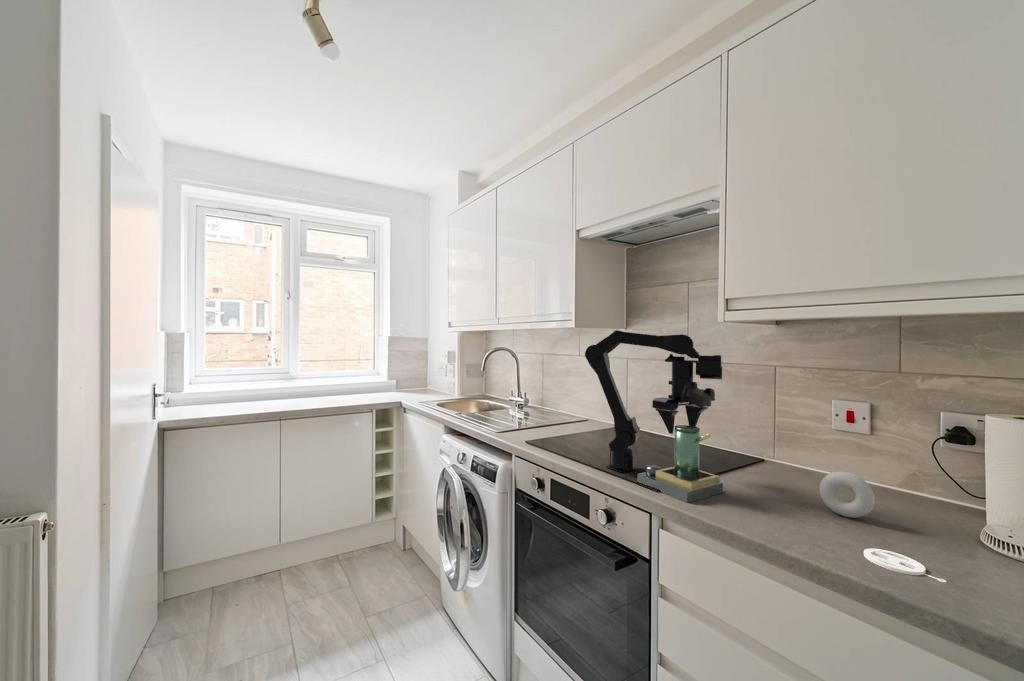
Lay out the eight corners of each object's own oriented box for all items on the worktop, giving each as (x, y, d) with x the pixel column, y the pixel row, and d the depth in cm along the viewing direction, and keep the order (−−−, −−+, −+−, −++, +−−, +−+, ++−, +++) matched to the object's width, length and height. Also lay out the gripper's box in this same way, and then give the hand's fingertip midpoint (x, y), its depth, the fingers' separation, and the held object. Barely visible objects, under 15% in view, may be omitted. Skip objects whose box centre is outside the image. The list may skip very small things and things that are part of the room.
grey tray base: (637, 482, 116) (637, 466, 116) (671, 475, 122) (671, 459, 122) (687, 502, 102) (687, 484, 102) (722, 492, 109) (722, 475, 109)
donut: (876, 522, 92) (877, 476, 92) (872, 526, 89) (873, 479, 89) (821, 507, 99) (822, 465, 99) (817, 511, 97) (817, 468, 97)
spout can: (669, 479, 111) (669, 426, 111) (682, 475, 114) (683, 424, 114) (703, 490, 103) (703, 433, 103) (716, 485, 106) (717, 430, 106)
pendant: (872, 549, 80) (872, 544, 80) (954, 577, 71) (954, 572, 71) (856, 558, 76) (856, 554, 76) (940, 590, 67) (940, 585, 67)
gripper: (684, 381, 109) (684, 441, 109) (728, 379, 118) (728, 434, 118) (651, 378, 119) (650, 433, 119) (694, 376, 128) (693, 427, 128)
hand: (681, 432), depth 121 cm, fingers open, 9 cm apart
